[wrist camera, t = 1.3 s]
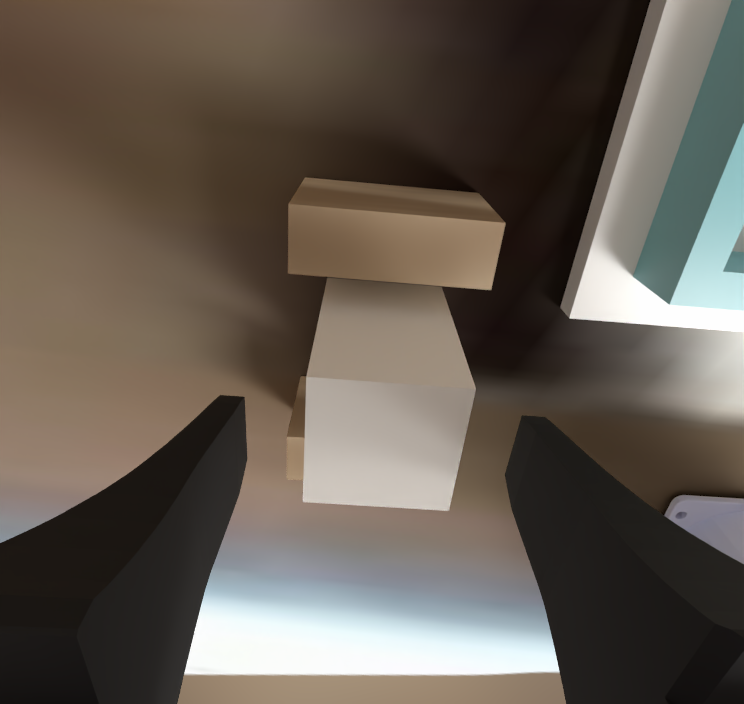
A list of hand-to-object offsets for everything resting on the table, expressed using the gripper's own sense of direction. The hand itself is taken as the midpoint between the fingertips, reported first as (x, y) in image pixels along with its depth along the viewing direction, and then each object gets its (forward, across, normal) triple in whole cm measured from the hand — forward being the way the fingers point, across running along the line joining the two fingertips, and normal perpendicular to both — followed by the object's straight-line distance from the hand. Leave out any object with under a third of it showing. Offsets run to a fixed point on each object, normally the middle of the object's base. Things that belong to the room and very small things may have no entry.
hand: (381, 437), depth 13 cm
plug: (+8, 0, 0) cm, 8 cm away
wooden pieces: (+8, 0, 0) cm, 8 cm away
